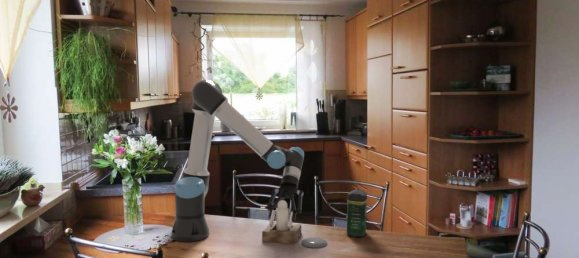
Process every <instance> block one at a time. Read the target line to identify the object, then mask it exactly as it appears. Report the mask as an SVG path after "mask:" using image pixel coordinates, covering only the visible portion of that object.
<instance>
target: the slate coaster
mask: <svg viewBox="0 0 579 258" xmlns="http://www.w3.org/2000/svg"><path fill="white" fill-rule="evenodd" d="M301 245H302V246H304V247H306V248H310V249H319V248H324V247H326V246H327V245H328V242H327V240H326V239H325V238H321V237H312V236H311V237H306V238H305V237H304V238H303V239H302V240H301Z"/></svg>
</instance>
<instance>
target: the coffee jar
mask: <svg viewBox="0 0 579 258" xmlns="http://www.w3.org/2000/svg"><path fill="white" fill-rule="evenodd" d="M367 205H368V193H367V192H366V191H365V190H364V189H356V188H355V189H353V190H351V191H350V192H348V194H347V211H346V212H347V213H346V215H347V217H346V234H347V235H348V236H351V237H355V238H356V237H357V238H358V237H363V236H365V234H366V233H367V209H368V207H367Z"/></svg>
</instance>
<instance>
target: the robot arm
mask: <svg viewBox="0 0 579 258" xmlns="http://www.w3.org/2000/svg"><path fill="white" fill-rule="evenodd" d="M191 98H192V107H191V110H192V112H193V113H194V119H193V124H192V132H191V138H190V144H189V145H190V146H189V153H188V159H187V165H186V168H185V169H183V171H182V176H181V178H179V179H178V180H177V181H176V182H175V184H174V193H175V194H174V198H175V199H174V201H175V202H174V203H175V204H174V205H175V219H174V222H173V225H172V228H171V232H170V233H171V239H173V240H174V241H177V242H181V243H182V242H183V243H190V242H197V241H202V240H204V239H206V238H208V237H209V236H210V228H209V226H208V222H207V220H206V216H205V198H206V196H207V194H208V193H209V188H210V186H209V182H210V181H209V180H210V175H211V173H210V172H209V171H208V165H209V157H210V152H211V151H210V150H211V144H212V137H213V131H214V124H215V119H216V118H217V119H218V120H219V121H220V122H221V123H222V124H224V125H225V127H227V128H228V129H229V130H230V131H231V132H232V133H233V134H234V135H236V136H237V137H238V138H239V139H240V140H241V141H243V142H244V143H245V144H246V145H247V146H249V148H251V150H253V151H254V152H255V153H256V154H257V155H258V156H259V157H260V159H263V160H264V161H265V162H266V163H267V165H268V166H269V167H270V168H271V169H275V170H278V169H281V168H283V167H284V168H283V173H282V177H281V181H280V185H279V187H278V188H274V187H272V189H271V190H272V191H271V194H270V197H269V199H268V202H267V204H266V209H267V211H268V212H269V214H268V219H269V221H268V222H269V223H268V225H270V227H272V226H273V222H275V218H276V208H278V202H279V201H281V200H285V199H288V200H290V204H291V208H292V211H290V215H289V218H288V228H289V229H291V227H292V223H294V222H295V221H296V219H297V215H299V214H302V207H303V197H304V190H302V189H300V190H299V189H298V187H299V183H300V177H301V175H302V168H303V163H304V161H305V159H304V158H305V152H304V150H303V149H302V148H300V147H298V146H296V147H295V146H292V147H290V148H289V149H286V148H284V147H281V146H278V145H275V144H274V143H273V142H272V141H271V140H270V139H269V138H268V137H266V136H265V135H264V134H263V133H262V132H261V131H260V130H259V129H258V128H256V127H255V126H254V125H253V124H252V123H251V122H250V121H249V120H248V119H247V118H246V117H244V116H243V114H241V112H239V111H238V110H237V109H235V107H234V106H232V104H230V103H229V99H228V98H227V96H225V95H224V93H223V90H222V88H221V86H220V85H219V84H218V83H217V82H215V81H213V80H209V79H203V80H202V79H201V80H199V81H198V82H196V83H195V84H194V86H193V87H192V90H191ZM215 117H216V118H215ZM278 193H279V194H278ZM277 195H278V196H277ZM296 195H297V196H298V197H297V208H296V202H295V198H294V197H295V196H296ZM276 196H277V198H276ZM275 199H276V200H275Z"/></svg>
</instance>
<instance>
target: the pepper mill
mask: <svg viewBox="0 0 579 258" xmlns="http://www.w3.org/2000/svg"><path fill="white" fill-rule="evenodd" d="M289 209H290V208H289V207H288V203H287V201H286V200H285V199H283V200H281V201H279V202H278V207H277V208H276V210H275V213H276V214H275V218H276V219H275V222H276V230H278V231H288V223H289V219H290V215H289V213H290V211H289Z"/></svg>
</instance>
